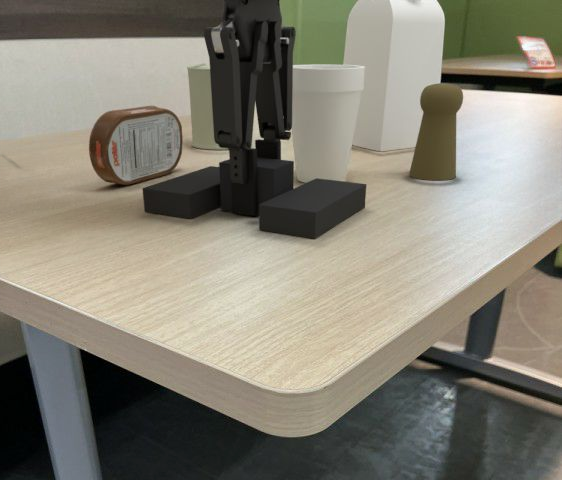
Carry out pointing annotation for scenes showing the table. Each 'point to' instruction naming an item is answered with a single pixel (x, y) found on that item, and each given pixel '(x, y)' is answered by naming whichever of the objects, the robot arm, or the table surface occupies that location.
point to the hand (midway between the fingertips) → (257, 207)
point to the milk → (393, 67)
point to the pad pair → (272, 214)
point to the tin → (135, 144)
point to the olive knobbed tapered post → (437, 133)
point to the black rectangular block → (260, 180)
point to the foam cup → (324, 118)
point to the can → (201, 107)
